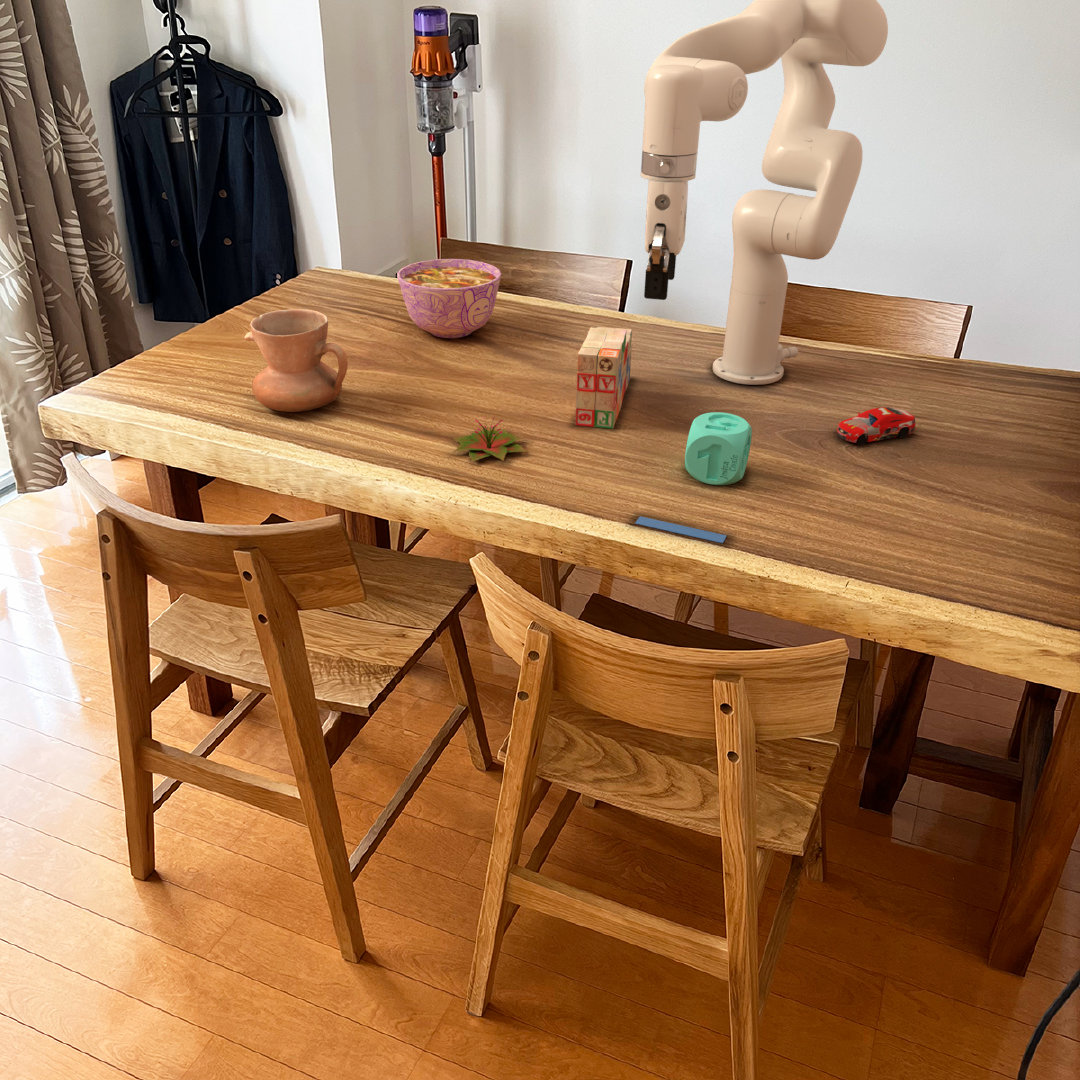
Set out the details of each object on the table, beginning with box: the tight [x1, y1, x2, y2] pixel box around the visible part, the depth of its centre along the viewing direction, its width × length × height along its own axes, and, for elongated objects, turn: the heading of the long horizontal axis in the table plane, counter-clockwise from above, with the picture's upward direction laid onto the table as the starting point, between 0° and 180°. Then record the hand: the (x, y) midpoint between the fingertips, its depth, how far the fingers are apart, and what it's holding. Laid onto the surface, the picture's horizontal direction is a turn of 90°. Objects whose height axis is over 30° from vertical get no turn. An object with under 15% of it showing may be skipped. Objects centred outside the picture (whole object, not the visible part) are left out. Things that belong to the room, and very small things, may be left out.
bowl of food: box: [396, 258, 502, 339], centre depth 191 cm, size 20×20×12 cm
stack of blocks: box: [575, 326, 633, 429], centre depth 162 cm, size 21×6×12 cm, turn 168°
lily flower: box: [451, 415, 528, 463], centre depth 149 cm, size 12×12×5 cm
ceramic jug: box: [244, 308, 349, 413], centre depth 160 cm, size 18×14×14 cm
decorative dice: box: [684, 411, 753, 486], centre depth 142 cm, size 8×8×8 cm
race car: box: [836, 406, 916, 446], centre depth 154 cm, size 13×5×4 cm, turn 110°
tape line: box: [634, 516, 727, 544], centre depth 130 cm, size 12×2×1 cm, turn 66°
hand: (659, 288), depth 143 cm, fingers open, 9 cm apart
